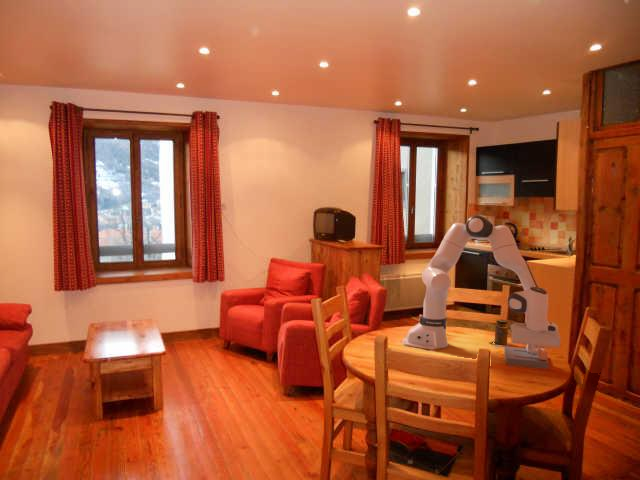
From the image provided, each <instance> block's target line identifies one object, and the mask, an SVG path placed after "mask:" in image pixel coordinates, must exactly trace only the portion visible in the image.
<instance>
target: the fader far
mask: <svg viewBox="0 0 640 480" xmlns="http://www.w3.org/2000/svg"><path fill="white" fill-rule="evenodd" d="M535 347H536V345H532V347H531V348H532V350H535V349H536V348H535ZM525 348H526V349H527V352H531V350H530V348H529V346H528V345H527V344H526V347H525Z"/></svg>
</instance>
